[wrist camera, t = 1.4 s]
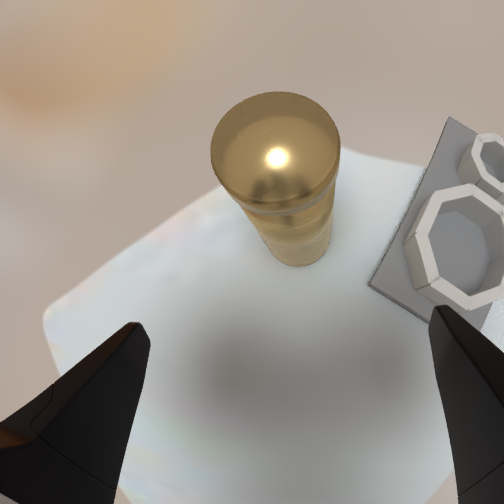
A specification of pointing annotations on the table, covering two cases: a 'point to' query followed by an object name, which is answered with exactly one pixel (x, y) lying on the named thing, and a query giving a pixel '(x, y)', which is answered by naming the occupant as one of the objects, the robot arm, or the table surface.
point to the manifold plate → (451, 231)
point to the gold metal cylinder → (281, 171)
